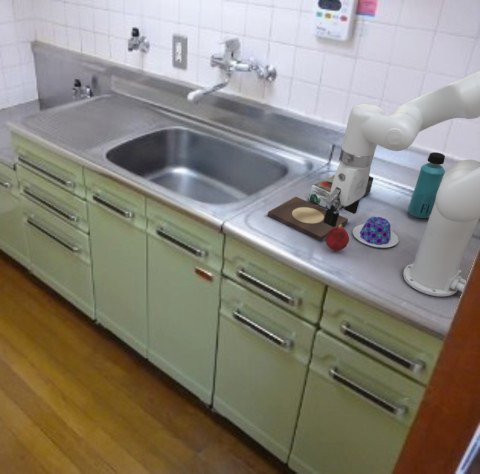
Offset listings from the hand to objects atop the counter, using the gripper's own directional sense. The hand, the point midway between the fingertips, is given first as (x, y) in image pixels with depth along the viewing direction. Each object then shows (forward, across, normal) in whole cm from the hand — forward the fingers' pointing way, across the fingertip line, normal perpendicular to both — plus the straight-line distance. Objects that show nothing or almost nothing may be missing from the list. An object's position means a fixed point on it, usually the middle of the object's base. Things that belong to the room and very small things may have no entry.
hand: (339, 217), depth 136 cm
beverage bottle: (+10, +34, -8) cm, 36 cm away
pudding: (+10, +14, -5) cm, 18 cm away
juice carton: (+10, +27, +14) cm, 32 cm away
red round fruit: (+10, 0, -1) cm, 10 cm away
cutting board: (+10, +8, +13) cm, 19 cm away
